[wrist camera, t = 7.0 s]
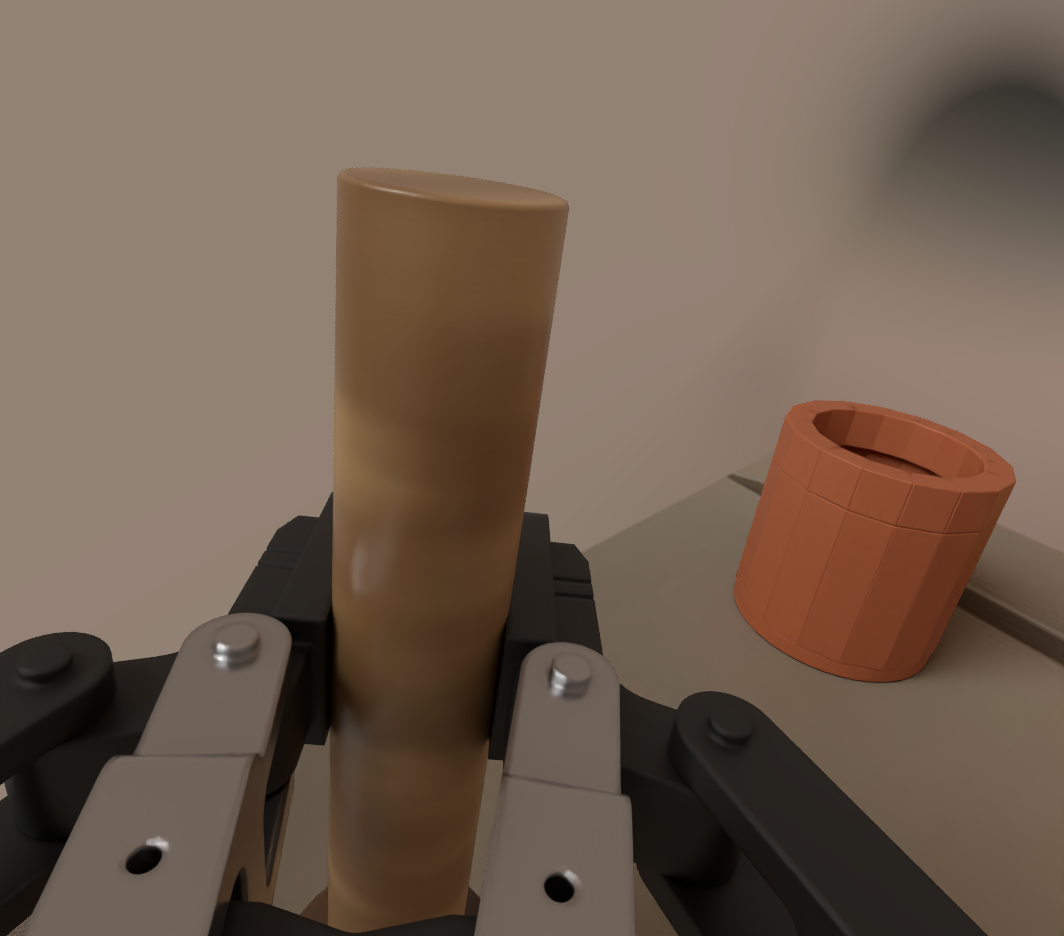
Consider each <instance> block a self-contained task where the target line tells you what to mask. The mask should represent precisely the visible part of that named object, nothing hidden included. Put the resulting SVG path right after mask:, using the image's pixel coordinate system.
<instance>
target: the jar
mask: <svg viewBox="0 0 1064 936" xmlns="http://www.w3.org/2000/svg"><path fill="white" fill-rule="evenodd" d="M1015 483H1016V480H1015V475H1014V471H1013V468H1012V466H1011V465H1010V464H1009V463H1007V462H1006V461H1005V460H1004V459H1003V458H1001V456H999V455H998V454H997V453H996V452H995V451H993V450H992V449H991V448H989V447H987V446H985V445H983V444H981V443H979V442H977V441H976V440H973V439H972V438H970V437H968V436H966V435H964V434H962V433H959V432H958V431H955V430H952V429H950V428H947V427H945V426H942V425H939V424H936V423H934V422H931V421H929V420H926V419H921V418H920V417H917V416H913V415H909V414H905V413H902V412H898V411H894V410H891V409H887V408H882V407H876V406H871V405H865V404H858V403H852V402H845V401H811V402H806V403H802V404H798V405H794V406H793V407H792V408H791V409H790V411H789V412H788V414H787V415H786V417H785V420H784V424H783V426H782V430H781V433H780V436H779V440H778V442H777V446H776V449H775V453H774V455H773V459H772V462H771V465H770V468H769V471H768V475H767V478H766V481H765V484H764V488H763V491H762V494H761V497H760V501H759V504H758V507H757V510H756V513H755V517H754V520H753V523H752V526H751V530H750V533H749V536H748V539H747V542H746V546H745V549H744V552H743V555H742V559H741V562H740V565H739V568H738V571H737V575H736V578H737V579H736V582H735V586H734V596H735V601H736V604H737V607H738V608H739V610H740V612H741V614H742V616H743V617H744V618H745V620H746V621H747V622H748V623H749V625H750V626H751V627H752V628H753V629H754V630H755V631H756V632H757V633H758V634H759V635H761V636H762V637H763V638H764V639H765V640H767V641H768V642H769V643H771V644H772V645H773V646H775V647H776V648H778V649H779V650H781V651H782V652H784V653H785V654H787V655H789V656H791V657H793V658H795V659H796V660H798V661H800V662H802V663H805V664H807V665H809V666H811V667H814V668H816V669H819V670H821V671H824V672H827V673H830V674H834V675H837V676H840V677H845V678H849V679H854V680H860V681H868V682H891V681H897V680H903V679H905V678H908V677H911V676H913V675H914V674H916V673H918V672H919V671H920V670H921V669H922V668H923V667H924V666H925V664H926V662H927V660H928V658H929V656H930V655H931V654H932V653H933V652H934V651H935V649H936V646H937V644H938V642H939V640H940V638H941V636H942V634H943V632H944V630H945V628H946V626H947V624H948V622H949V620H950V618H951V616H952V614H953V611H954V609H955V607H956V605H957V603H958V601H959V599H960V597H961V595H962V593H963V591H964V589H965V587H966V585H967V583H968V581H969V579H970V576H971V574H972V572H973V570H974V568H975V566H976V564H977V562H978V560H979V558H980V556H981V554H982V552H983V550H984V548H985V546H986V543H987V541H988V539H989V537H990V535H991V533H992V531H993V529H994V527H995V525H996V522H997V520H998V518H999V516H1000V514H1001V512H1002V510H1003V508H1004V506H1005V504H1006V502H1007V500H1008V498H1009V496H1010V494H1011V491H1012V489H1013V487H1014V485H1015Z"/></svg>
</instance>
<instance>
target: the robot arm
mask: <svg viewBox="0 0 1064 936" xmlns="http://www.w3.org/2000/svg"><path fill="white" fill-rule="evenodd" d="M332 554H333V492H332V493H331V495H330V497H329V499H328V501H327V503H326V505H325V507H324V509H323V511H322V513H321V515H320V517H318V518H317V517H309V516H297V517H295V518H294V519H293V520H291V521H290V522H288V523H287V524H285V525H284V526H282V527H281V528H279V529H278V530H277V531H276V533H275V535H274V536H273V538H272V540H271V541H270V543H269V545H268V547H267V550H266V551H265V552H264V553H263V555H262V557H261V559H260V560H259V562H258V566H256V567H255V569H254V570H253V572H252V574H251V576H250V577H249V579H248V581H247V582H246V584H245V586H244V587H243V589H242V591H241V593H240V594H239V596H238V598H237V600H236V601H235V603H234V605H233V606H232V608H231V610H230V611H229V613H228V615H225V616H222V617H218V618H215V619H212V620H210V621H208V622H206V623H204V624H202V625H201V626H199V627H198V628H196V629H195V630H194V631H192V632H191V633H190V634H189V635H188V637H187V638H186V639H185V641H184V642H183V644H182V646H181V648H180V651H179V652H176V653H172V654H168V655H163V656H157V657H150V658H142V659H135V660H127V661H119V662H113V659H112V653H111V650H110V648H109V646H108V645H107V644H106V643H105V642H104V641H103V640H101V639H100V638H98V637H95V636H93V635H89V634H86V633H78V632H63V633H53V634H47V635H42V636H39V637H35V638H32V639H29V640H26V641H23V642H21V643H19V644H17V645H14V646H12V647H11V648H8V649H7V650H5V651H3V652H1V653H0V785H1V784H2V783H5V787H6V791H7V794H8V796H7V797H5V798H4V799H2V800H1V801H0V936H7V935H8V934H9V933H10V932H11V931H12V930H14V929H15V928H16V927H17V926H18V925H19V924H21V923H22V922H23V921H24V920H25V919H26V918H28V917H29V916H30V915H31V914H32V915H31V917H30V919H29V921H28V924H27V926H26V928H25V930H24V932H23V934H22V936H635V909H634V873H633V862H635V863H636V865H637V869H638V871H639V874H640V876H641V878H642V880H643V882H644V884H645V885H646V887H647V888H648V890H649V891H650V893H651V894H652V896H653V897H654V899H655V900H656V902H657V903H658V905H659V906H660V908H661V910H662V911H663V913H664V914H665V916H666V917H667V919H668V920H669V922H670V923H671V925H672V926H673V928H674V929H675V931H676V932H677V934H678V936H988V935H987V934H986V933H985V932H984V931H983V930H982V929H981V928H980V927H979V926H978V925H977V924H976V923H975V922H974V921H973V920H972V919H971V918H970V917H969V916H968V915H967V914H966V913H965V912H964V911H963V910H962V909H961V908H960V907H959V906H958V905H957V904H956V903H955V902H954V901H953V900H951V899H950V898H949V897H948V896H947V895H946V894H945V893H944V892H943V891H942V890H941V889H940V888H939V887H938V886H937V885H936V884H935V883H934V882H933V881H932V880H931V879H930V878H929V877H928V876H927V875H926V874H925V873H924V872H923V871H922V870H921V869H920V868H919V867H918V866H917V865H916V864H915V863H914V862H913V861H912V860H911V859H910V858H909V857H908V856H907V855H906V854H905V853H904V852H903V851H902V850H901V849H900V848H899V847H898V846H897V845H896V844H895V843H894V842H893V841H892V840H891V839H890V838H889V837H888V836H887V835H886V834H885V833H884V832H883V831H882V830H881V829H880V828H879V827H878V826H877V825H876V824H875V823H874V822H873V821H872V820H871V819H870V818H869V817H868V816H867V815H866V814H865V813H864V812H863V811H862V810H861V809H860V808H859V807H858V806H857V805H856V804H855V803H854V802H853V801H852V800H851V799H850V798H849V797H848V796H847V795H846V794H845V793H844V792H843V791H842V790H841V789H840V788H839V787H838V786H837V785H836V784H835V783H834V782H833V781H832V780H831V779H830V778H829V777H828V776H827V775H826V774H825V773H824V772H823V771H822V770H821V769H820V768H819V767H818V766H817V765H816V764H815V763H814V762H813V761H812V760H811V759H810V758H809V757H808V756H807V755H806V754H805V753H804V752H803V751H802V750H801V749H800V748H799V747H798V746H797V745H796V744H794V743H793V742H792V741H791V740H790V739H789V738H788V737H787V736H786V735H785V734H784V733H783V732H782V731H781V730H780V729H779V728H778V727H777V726H776V725H775V724H774V723H773V722H772V721H771V720H770V719H769V718H768V717H767V716H766V715H765V714H764V713H763V712H762V711H761V710H759V709H758V708H757V707H755V706H754V705H752V704H751V703H749V702H747V701H745V700H743V699H741V698H739V697H736V696H733V695H730V694H727V693H722V692H713V691H707V692H699V693H695V694H693V695H690V696H688V697H687V698H686V699H684V700H683V701H682V702H681V704H680V705H679V707H678V709H677V710H676V709H673V708H670V707H667V706H664V705H661V704H658V703H655V702H652V701H650V700H647V699H645V698H642V697H640V696H638V695H636V694H634V693H632V692H631V691H629V690H628V689H626V688H625V687H624V686H622V685H621V684H620V683H619V677H618V675H617V672H616V670H615V669H614V667H613V666H612V665H611V663H610V662H609V661H608V660H607V659H606V658H604V657H603V652H602V646H601V639H600V633H599V627H598V620H597V614H596V608H595V601H594V600H593V597H594V595H593V589H592V584H591V576H590V570H589V563H588V561H587V560H586V558H585V557H584V556H583V555H582V553H581V552H580V551H579V550H578V548H577V547H576V546H575V545H574V544H566V543H556V542H550V531H549V518H548V515H547V514H539V513H529V512H524V515H523V522H522V529H521V535H520V542H519V549H518V556H517V562H516V569H515V576H514V583H513V589H512V596H511V603H510V610H509V614H508V617H507V619H506V625H505V632H504V639H503V646H502V653H501V659H500V666H499V673H498V680H497V687H496V694H495V701H494V707H493V714H492V721H491V728H490V735H489V749H488V759H492V760H503V773H502V779H501V784H500V790H499V796H498V802H497V807H496V813H495V819H494V825H493V830H492V836H491V842H490V848H489V854H488V859H487V865H486V871H485V877H484V882H483V888H482V894H481V900H480V905H479V911H478V916H470V915H454V914H451V915H446V916H441V917H436V918H431V919H426V920H421V921H416V922H411V923H406V924H401V925H396V926H391V927H386V928H381V929H376V930H371V931H366V932H359V933H352V932H346V931H342V930H340V929H337V928H334V927H331V926H328V925H326V924H323V923H320V922H317V921H314V920H311V919H309V918H306V917H303V916H300V915H297V914H295V913H292V912H289V911H286V910H283V909H280V908H278V907H275V906H272V902H273V897H274V891H275V886H276V881H277V875H278V870H279V864H280V859H281V854H282V848H283V843H284V838H285V832H286V827H287V822H288V816H289V811H290V805H291V800H292V795H293V789H294V770H295V768H296V766H297V763H298V760H299V758H300V755H301V752H302V749H303V746H304V744H311V745H325V741H326V738H327V735H328V732H329V728H330V721H331V641H332Z"/></svg>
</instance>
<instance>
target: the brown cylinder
mask: <svg viewBox="0 0 1064 936" xmlns="http://www.w3.org/2000/svg"><path fill="white" fill-rule="evenodd" d="M568 211H569V206H568V202H567V201H566V200H564V199H562V198H561V197H559V196H556V195H554V194H550V193H547V192H543V191H539V190H535V189H531V188H526V187H522V186H517V185H512V184H507V183H501V182H495V181H490V180H483V179H477V178H470V177H464V176H456V175H449V174H441V173H432V172H423V171H414V170H403V169H402V170H401V169H389V168H349V169H346V170H342V171H340V173H339V175H338V178H337V243H336V320H335V321H336V322H335V324H336V325H335V399H334V400H335V402H334V476H333V477H334V479H333V554H332V641H331V721H330V789H329V868H328V887H327V888H326V889H324V890H323V891H322V892H321V893H320V894H318V895H317V896H316V897H315V898H314V899H313V900H312V901H311V902H310V903H309V904H308V905H307V907H306V908H305V909H304V910H303V912H302V913H301V914H300V916H303V917H306V918H309V919H311V920H314V921H317V922H320V923H323V924H326V925H328V926H331V927H334V928H337V929H340V930H342V931H346V932H352V933H359V932H366V931H371V930H376V929H381V928H386V927H391V926H396V925H401V924H406V923H411V922H416V921H421V920H426V919H431V918H436V917H441V916H446V915H451V914H454V915H470V916H478V911H479V905H480V900H481V899H480V898H479V896H478V895H477V894H476V893H475V892H474V891H473V890H472V889H471V888H470V887H469V880H470V873H471V866H472V859H473V853H474V846H475V839H476V832H477V826H478V819H479V812H480V805H481V799H482V792H483V785H484V778H485V772H486V765H487V758H488V749H489V735H490V728H491V721H492V714H493V707H494V701H495V694H496V687H497V680H498V673H499V666H500V659H501V653H502V646H503V639H504V632H505V625H506V619H507V617H508V614H509V610H510V603H511V596H512V589H513V583H514V576H515V569H516V562H517V556H518V549H519V542H520V535H521V529H522V522H523V515H524V508H525V502H526V495H527V488H528V481H529V475H530V468H531V461H532V455H533V448H534V441H535V434H536V428H537V420H538V414H539V407H540V400H541V394H542V387H543V380H544V373H545V367H546V360H547V353H548V347H549V339H550V333H551V326H552V320H553V313H554V306H555V299H556V293H557V286H558V279H559V272H560V265H561V259H562V252H563V245H564V238H565V232H566V225H567V218H568Z"/></svg>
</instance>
